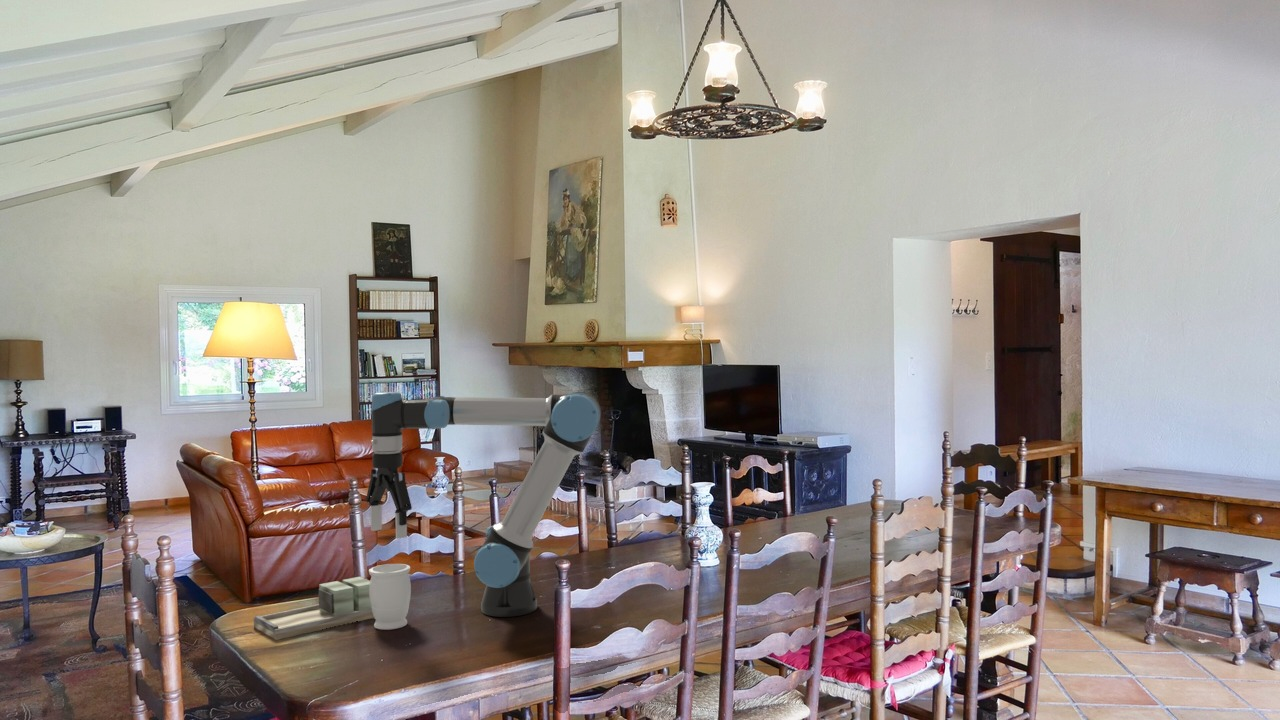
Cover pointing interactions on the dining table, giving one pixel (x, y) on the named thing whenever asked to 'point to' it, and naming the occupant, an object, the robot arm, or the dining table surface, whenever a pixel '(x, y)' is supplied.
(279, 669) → the dining table surface
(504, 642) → the dining table surface
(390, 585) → the jar
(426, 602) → the dining table surface
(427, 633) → the dining table surface
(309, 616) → the rail board
